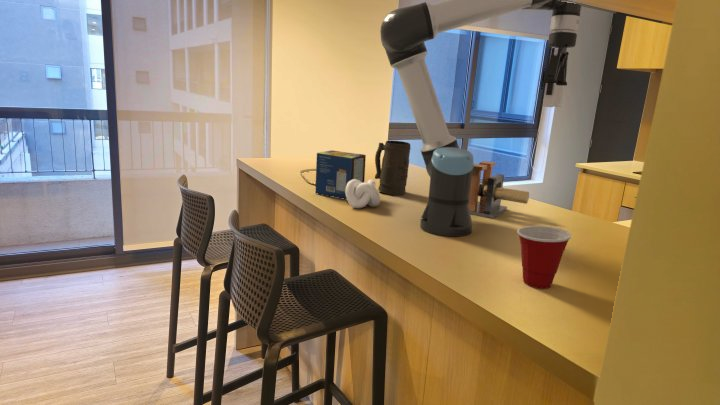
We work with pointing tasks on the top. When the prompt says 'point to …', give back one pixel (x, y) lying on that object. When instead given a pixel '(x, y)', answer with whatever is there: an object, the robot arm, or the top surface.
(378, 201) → the white knot sculpture
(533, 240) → the plastic cup
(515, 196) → the tube
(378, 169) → the beer stein
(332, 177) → the protein box
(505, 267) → the top surface
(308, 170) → the beaded necklace
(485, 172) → the wooden stand
